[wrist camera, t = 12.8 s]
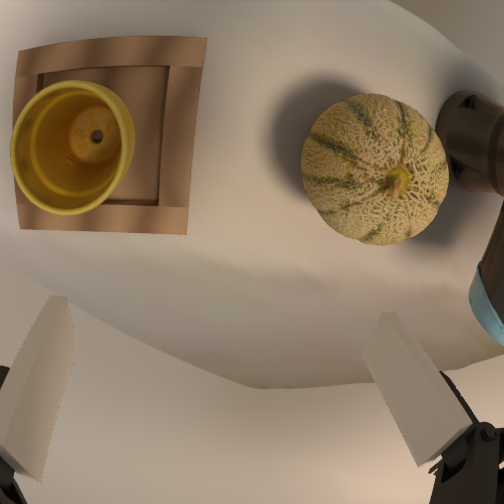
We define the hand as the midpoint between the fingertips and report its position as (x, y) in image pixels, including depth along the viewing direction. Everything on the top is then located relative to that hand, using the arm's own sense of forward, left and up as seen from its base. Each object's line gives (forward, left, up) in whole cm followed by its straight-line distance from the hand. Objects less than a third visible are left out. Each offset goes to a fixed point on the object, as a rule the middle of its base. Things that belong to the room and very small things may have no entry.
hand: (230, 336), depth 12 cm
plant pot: (+12, -5, -22) cm, 26 cm away
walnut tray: (+12, -5, -24) cm, 27 cm away
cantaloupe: (-15, -5, -24) cm, 29 cm away
